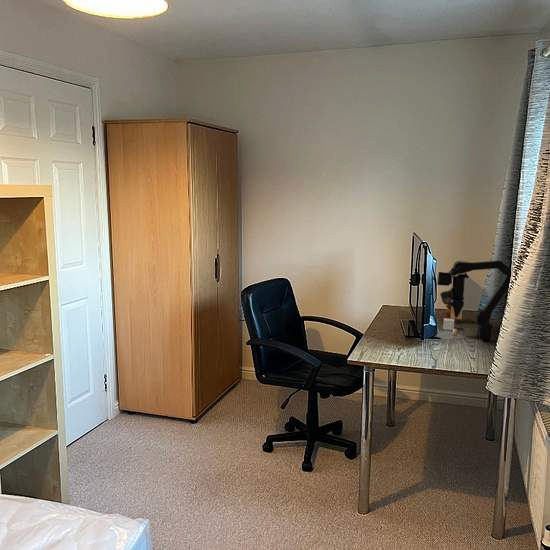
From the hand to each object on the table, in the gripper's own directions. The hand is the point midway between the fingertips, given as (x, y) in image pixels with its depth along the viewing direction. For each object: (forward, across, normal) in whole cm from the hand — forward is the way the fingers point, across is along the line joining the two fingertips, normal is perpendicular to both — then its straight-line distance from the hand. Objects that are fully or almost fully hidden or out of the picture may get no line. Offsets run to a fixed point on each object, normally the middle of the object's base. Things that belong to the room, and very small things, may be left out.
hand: (456, 316), depth 285 cm
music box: (+12, -40, -4) cm, 42 cm away
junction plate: (+11, 0, -4) cm, 12 cm away
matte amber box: (+1, 0, 0) cm, 1 cm away
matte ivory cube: (+11, -16, -4) cm, 20 cm away
